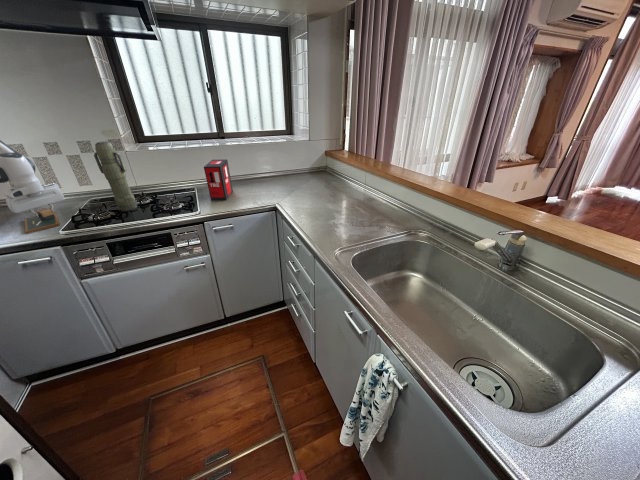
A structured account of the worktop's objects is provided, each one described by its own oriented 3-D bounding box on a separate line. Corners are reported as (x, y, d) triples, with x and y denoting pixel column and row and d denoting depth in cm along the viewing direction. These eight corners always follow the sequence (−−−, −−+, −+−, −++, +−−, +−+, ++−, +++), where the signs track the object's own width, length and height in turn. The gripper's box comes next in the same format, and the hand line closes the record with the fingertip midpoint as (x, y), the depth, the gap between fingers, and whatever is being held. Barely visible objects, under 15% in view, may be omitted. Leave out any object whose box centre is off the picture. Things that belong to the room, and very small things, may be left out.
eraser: (39, 218, 135) (35, 210, 133) (49, 214, 138) (44, 207, 136) (45, 220, 132) (41, 212, 130) (55, 217, 135) (51, 209, 133)
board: (25, 220, 135) (23, 218, 135) (56, 213, 143) (55, 211, 142) (26, 233, 123) (24, 231, 122) (60, 225, 130) (58, 223, 130)
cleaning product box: (226, 200, 158) (219, 166, 148) (211, 200, 157) (203, 166, 147) (232, 190, 172) (227, 159, 162) (218, 191, 172) (212, 159, 162)
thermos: (137, 210, 146) (112, 143, 128) (113, 212, 144) (84, 144, 126) (142, 204, 153) (119, 140, 136) (119, 206, 151) (93, 141, 133)
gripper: (52, 181, 136) (66, 206, 143) (-2, 194, 121) (16, 221, 127) (59, 182, 134) (72, 207, 141) (4, 196, 118) (22, 223, 125)
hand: (45, 214), depth 134 cm, fingers closed on eraser, 4 cm apart
